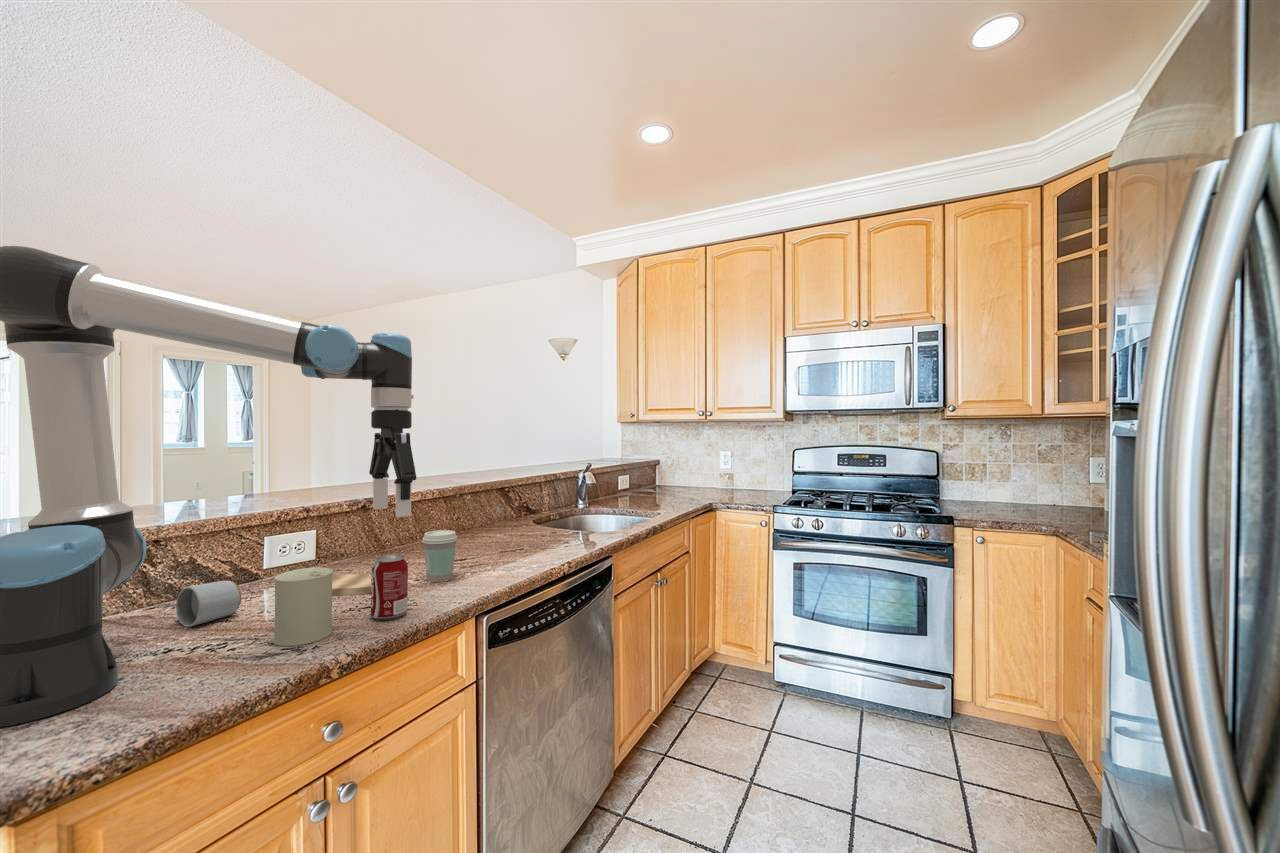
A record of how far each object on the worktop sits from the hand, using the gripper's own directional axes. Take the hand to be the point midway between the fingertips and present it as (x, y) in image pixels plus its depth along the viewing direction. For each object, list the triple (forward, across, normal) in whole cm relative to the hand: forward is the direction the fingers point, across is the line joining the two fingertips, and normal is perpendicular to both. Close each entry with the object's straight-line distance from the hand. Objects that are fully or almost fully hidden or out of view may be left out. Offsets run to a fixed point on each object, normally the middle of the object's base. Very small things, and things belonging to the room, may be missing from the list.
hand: (391, 512), depth 105 cm
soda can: (+21, 0, 0) cm, 21 cm away
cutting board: (+21, +26, 0) cm, 34 cm away
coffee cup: (+22, +19, -18) cm, 34 cm away
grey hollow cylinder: (+21, +24, +28) cm, 42 cm away
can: (+21, 0, +15) cm, 26 cm away
